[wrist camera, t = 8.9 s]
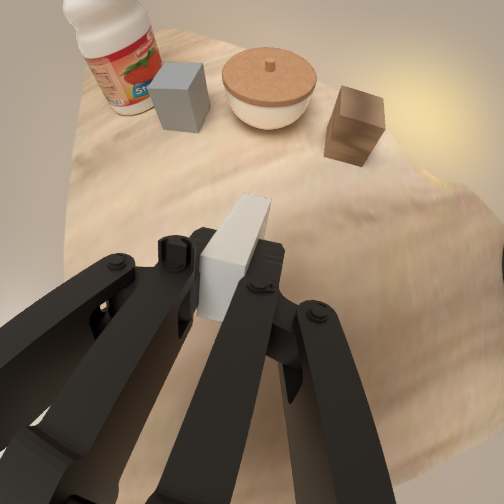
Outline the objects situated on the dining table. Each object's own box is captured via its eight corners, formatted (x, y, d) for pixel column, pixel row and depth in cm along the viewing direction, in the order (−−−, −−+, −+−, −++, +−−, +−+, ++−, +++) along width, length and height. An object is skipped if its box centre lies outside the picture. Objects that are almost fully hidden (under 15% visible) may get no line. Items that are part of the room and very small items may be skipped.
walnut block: (362, 137, 34) (383, 98, 26) (361, 167, 33) (385, 128, 25) (327, 127, 34) (341, 85, 26) (323, 156, 33) (339, 115, 25)
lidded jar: (225, 90, 36) (220, 39, 27) (299, 87, 36) (307, 37, 27) (228, 147, 33) (221, 93, 24) (314, 143, 33) (330, 90, 24)
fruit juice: (124, 79, 37) (71, -54, 10) (176, 74, 37) (139, -80, 10) (103, 119, 35) (23, -26, 8) (158, 115, 35) (95, -63, 8)
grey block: (210, 106, 35) (202, 63, 27) (198, 133, 34) (187, 89, 26) (177, 103, 35) (164, 62, 28) (163, 129, 34) (147, 88, 26)
